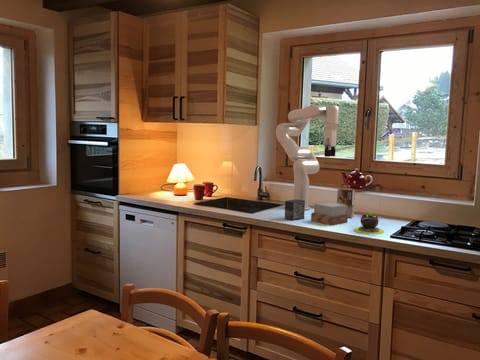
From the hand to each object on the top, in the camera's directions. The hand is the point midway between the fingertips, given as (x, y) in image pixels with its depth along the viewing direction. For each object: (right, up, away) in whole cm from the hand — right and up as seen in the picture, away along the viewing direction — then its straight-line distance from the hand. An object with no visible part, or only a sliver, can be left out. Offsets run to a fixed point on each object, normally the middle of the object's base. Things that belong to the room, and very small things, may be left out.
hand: (329, 156), depth 260 cm
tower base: (-4, -37, -18) cm, 41 cm away
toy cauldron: (+12, -40, -37) cm, 56 cm away
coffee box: (+9, -36, 0) cm, 37 cm away
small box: (-22, -36, -12) cm, 44 cm away
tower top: (-4, -32, -18) cm, 37 cm away
